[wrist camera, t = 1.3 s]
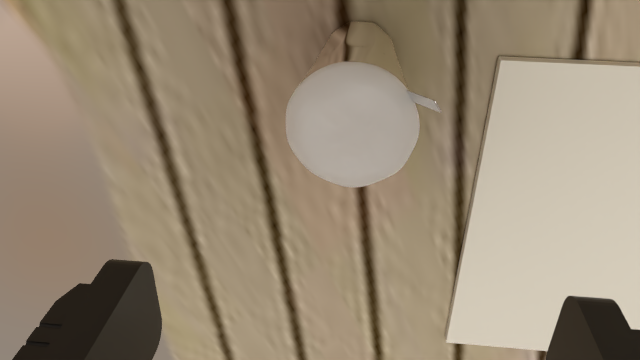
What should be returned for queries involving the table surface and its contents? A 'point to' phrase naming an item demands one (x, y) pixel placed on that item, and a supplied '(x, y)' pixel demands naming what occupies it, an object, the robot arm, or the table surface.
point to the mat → (551, 201)
